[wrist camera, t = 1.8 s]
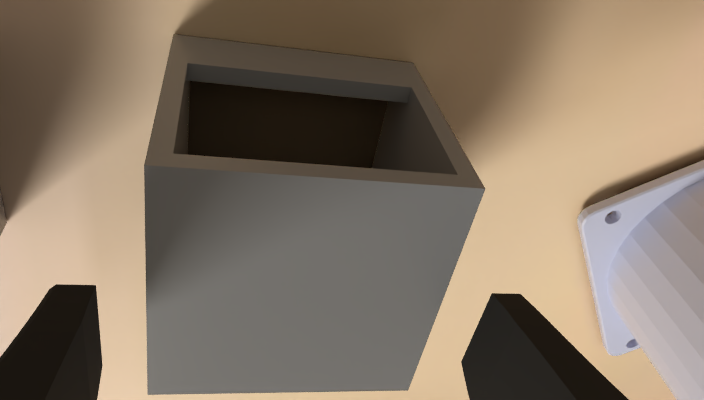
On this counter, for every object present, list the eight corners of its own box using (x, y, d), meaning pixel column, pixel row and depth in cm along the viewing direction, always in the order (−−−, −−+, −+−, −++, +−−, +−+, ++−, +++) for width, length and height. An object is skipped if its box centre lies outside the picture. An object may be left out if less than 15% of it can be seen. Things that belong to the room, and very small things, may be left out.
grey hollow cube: (173, 34, 14) (144, 165, 9) (413, 62, 15) (485, 188, 11) (170, 229, 17) (148, 394, 13) (366, 239, 18) (407, 390, 14)
